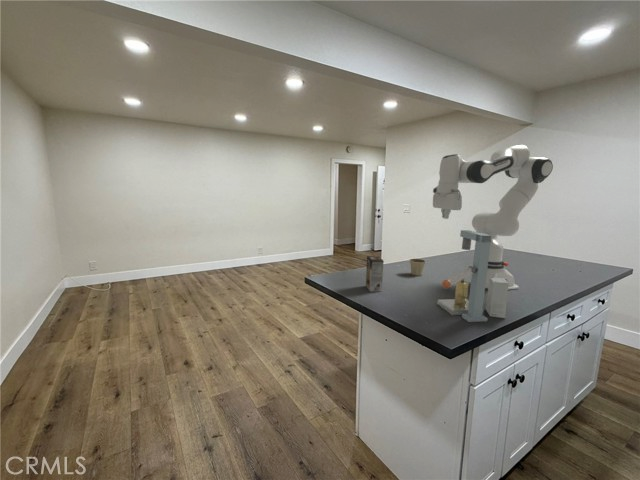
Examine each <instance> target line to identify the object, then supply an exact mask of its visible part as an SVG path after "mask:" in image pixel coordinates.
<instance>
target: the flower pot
mask: <svg viewBox="0 0 640 480" xmlns="http://www.w3.org/2000/svg"><path fill="white" fill-rule="evenodd" d="M426 262H427V261H426V260H425V259H421V258H410V259H409V264H410V274H411V275H412V276H416V277H417V276H422V275H423V271H424V267H425V264H426Z"/></svg>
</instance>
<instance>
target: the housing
mask: <svg viewBox="0 0 640 480" xmlns="http://www.w3.org/2000/svg"><path fill="white" fill-rule="evenodd" d="M468 290H469V281H466V280H465V278H464V279H462V280H460V281H459V282H457V283H455V294H454V299H455V302H454V304H455V305H457V306H462V307H463V306H466V301H467V299H468V293H469V292H468Z"/></svg>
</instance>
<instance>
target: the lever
mask: <svg viewBox="0 0 640 480" xmlns="http://www.w3.org/2000/svg"><path fill="white" fill-rule="evenodd" d="M476 272H477V269H476V268H474V267H473V265H469V266H468V267H466V268H465V269H463V270H462V271H459V272H457V274H455V275H453V276H451V277H449V278H447V279H445V280H443V281H442V282H441V285H442V287H443V288H444V289H449V288H450V287H451V286H453V285H456V283H457V282H459V281H461V280H462V279H464V280H465V279H466V278H467V277H470V275H471V276H472V274H473V273H476Z"/></svg>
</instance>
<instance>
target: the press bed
mask: <svg viewBox="0 0 640 480" xmlns="http://www.w3.org/2000/svg"><path fill="white" fill-rule="evenodd" d="M454 302H455V298H453V299H450V298H449V299H448V298H447V299H446V298H445V299H437V305H438V306H440V308H442V309H443V310H445V311H446V312H448V313H449V315H452V316H462V314H467V313H468V304H469V298H467V301H466V306H463V307H462V306H457V305H455V304H454ZM484 314H485V309H484V308H483V309H482V315H484Z"/></svg>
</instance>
